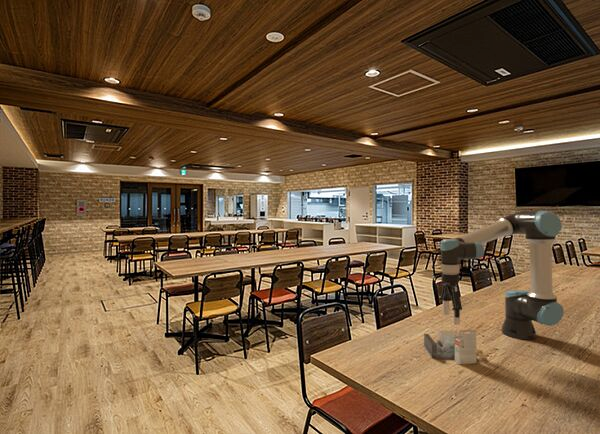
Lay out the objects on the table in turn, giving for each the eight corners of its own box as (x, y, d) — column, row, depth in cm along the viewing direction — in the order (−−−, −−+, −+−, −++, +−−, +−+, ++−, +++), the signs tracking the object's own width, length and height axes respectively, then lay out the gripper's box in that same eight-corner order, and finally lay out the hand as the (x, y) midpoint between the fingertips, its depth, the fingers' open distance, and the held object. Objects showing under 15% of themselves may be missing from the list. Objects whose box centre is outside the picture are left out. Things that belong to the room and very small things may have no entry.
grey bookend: (463, 347, 158) (463, 334, 158) (474, 359, 146) (474, 346, 145) (424, 346, 160) (424, 333, 160) (432, 358, 147) (431, 344, 147)
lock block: (456, 345, 155) (456, 331, 155) (461, 351, 149) (461, 335, 149) (437, 345, 156) (437, 330, 156) (441, 350, 150) (441, 335, 150)
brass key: (472, 352, 153) (472, 349, 153) (480, 352, 153) (480, 349, 153) (480, 360, 145) (480, 357, 145) (489, 360, 144) (489, 357, 144)
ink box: (454, 361, 144) (454, 327, 144) (471, 360, 145) (471, 326, 145) (459, 364, 141) (459, 330, 140) (476, 363, 142) (476, 329, 141)
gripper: (433, 268, 165) (434, 310, 165) (451, 278, 140) (452, 328, 141) (449, 268, 164) (450, 310, 165) (469, 278, 139) (470, 328, 140)
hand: (451, 319), depth 153 cm, fingers open, 13 cm apart
